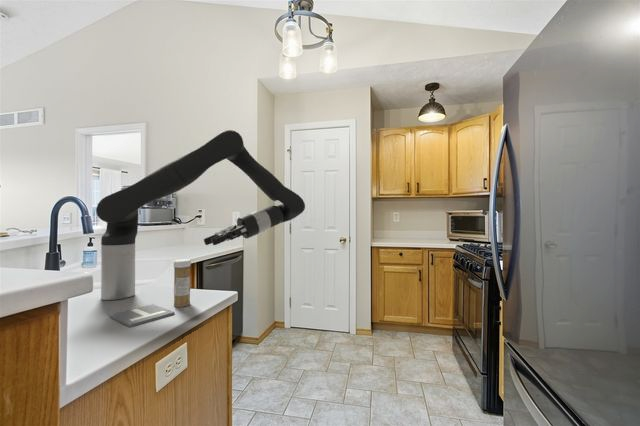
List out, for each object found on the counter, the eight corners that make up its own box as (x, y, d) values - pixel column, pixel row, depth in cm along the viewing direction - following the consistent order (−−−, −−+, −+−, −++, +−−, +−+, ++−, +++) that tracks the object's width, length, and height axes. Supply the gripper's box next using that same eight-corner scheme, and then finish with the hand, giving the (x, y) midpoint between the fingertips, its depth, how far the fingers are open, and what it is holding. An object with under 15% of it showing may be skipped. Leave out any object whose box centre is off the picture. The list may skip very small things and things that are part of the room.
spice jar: (177, 303, 88) (177, 258, 89) (192, 302, 89) (192, 258, 89) (170, 307, 84) (171, 261, 84) (187, 307, 84) (187, 261, 84)
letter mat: (109, 317, 76) (109, 314, 76) (152, 306, 85) (152, 303, 85) (129, 327, 69) (129, 324, 70) (174, 314, 78) (174, 311, 79)
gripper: (242, 214, 104) (198, 231, 95) (259, 211, 93) (210, 230, 83) (249, 234, 105) (206, 252, 96) (267, 233, 94) (219, 254, 84)
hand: (208, 242), depth 90 cm, fingers open, 8 cm apart
